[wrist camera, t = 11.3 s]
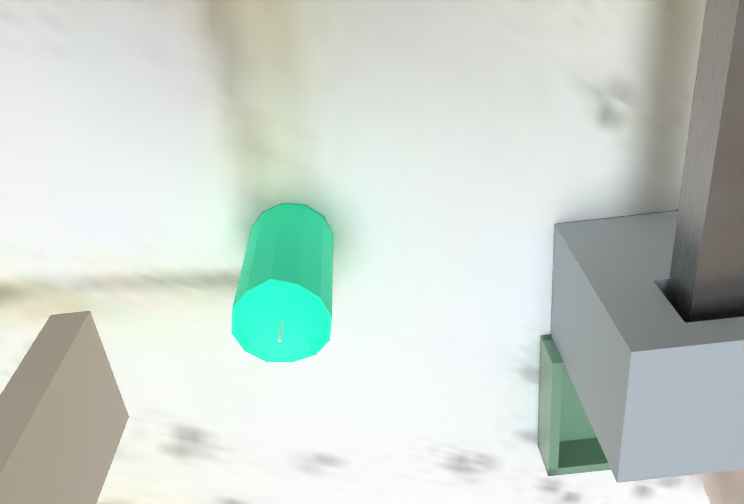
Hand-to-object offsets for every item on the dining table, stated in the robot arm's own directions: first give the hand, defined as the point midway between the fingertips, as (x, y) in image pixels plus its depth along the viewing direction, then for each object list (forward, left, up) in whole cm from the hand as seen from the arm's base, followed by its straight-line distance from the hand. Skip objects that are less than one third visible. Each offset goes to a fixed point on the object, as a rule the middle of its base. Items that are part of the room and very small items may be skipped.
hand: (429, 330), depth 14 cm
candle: (+15, -7, -33) cm, 37 cm away
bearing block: (+21, +18, -33) cm, 43 cm away
